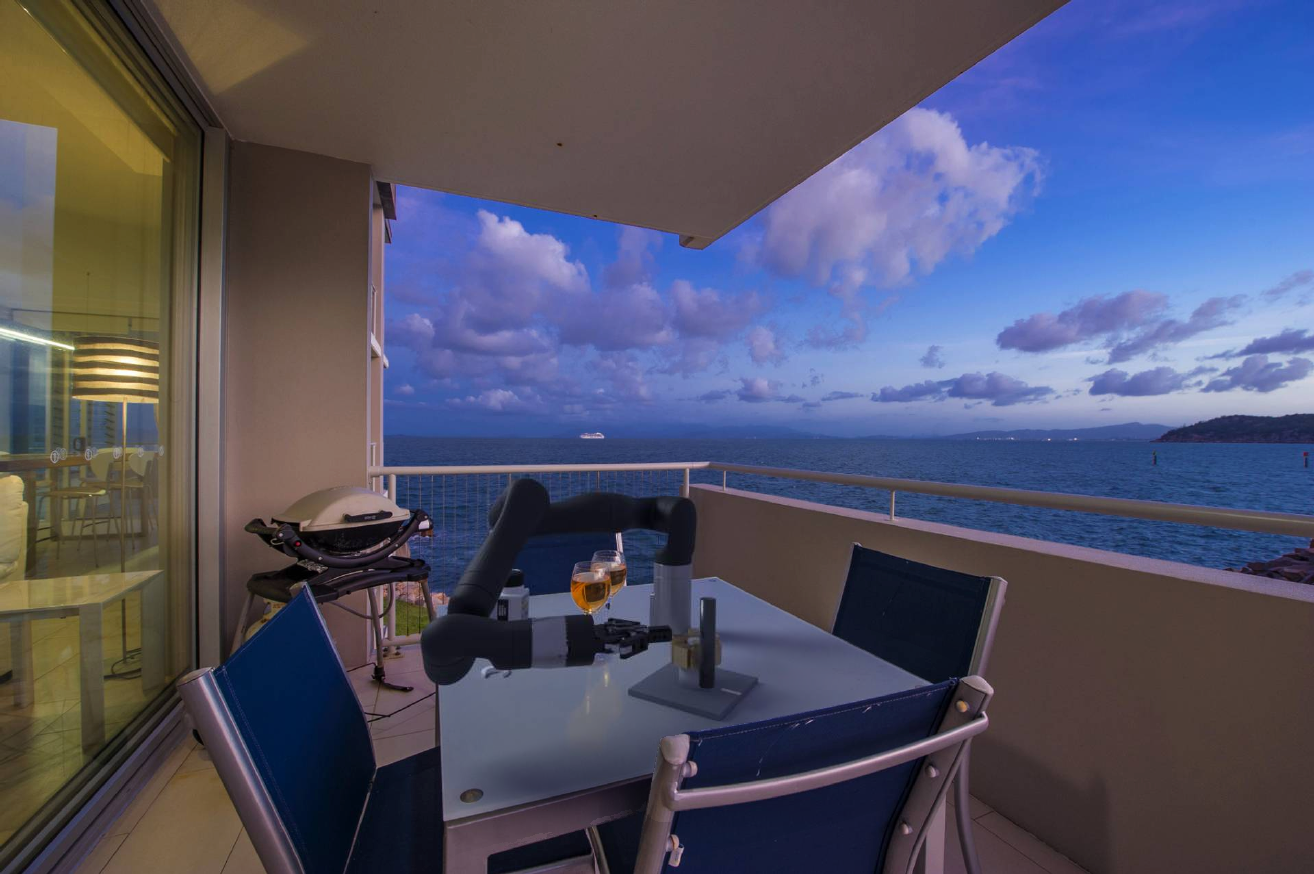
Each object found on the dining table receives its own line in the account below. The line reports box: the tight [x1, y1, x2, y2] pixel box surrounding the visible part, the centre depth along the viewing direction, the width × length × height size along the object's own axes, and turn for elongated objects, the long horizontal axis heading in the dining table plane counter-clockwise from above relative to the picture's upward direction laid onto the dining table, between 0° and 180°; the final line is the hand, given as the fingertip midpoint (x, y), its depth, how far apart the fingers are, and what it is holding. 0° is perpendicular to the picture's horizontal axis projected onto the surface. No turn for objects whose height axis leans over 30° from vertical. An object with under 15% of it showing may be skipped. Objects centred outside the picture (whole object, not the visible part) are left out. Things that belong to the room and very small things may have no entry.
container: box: [496, 569, 530, 621], centre depth 142 cm, size 8×8×13 cm
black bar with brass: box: [669, 596, 722, 690], centre depth 99 cm, size 19×9×15 cm, turn 4°
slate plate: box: [627, 637, 759, 722], centre depth 103 cm, size 18×18×9 cm
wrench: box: [480, 665, 510, 679], centre depth 118 cm, size 25×5×2 cm, turn 154°
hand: (670, 633), depth 89 cm, fingers closed
